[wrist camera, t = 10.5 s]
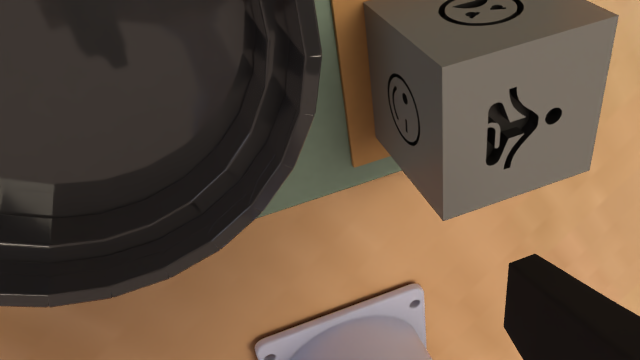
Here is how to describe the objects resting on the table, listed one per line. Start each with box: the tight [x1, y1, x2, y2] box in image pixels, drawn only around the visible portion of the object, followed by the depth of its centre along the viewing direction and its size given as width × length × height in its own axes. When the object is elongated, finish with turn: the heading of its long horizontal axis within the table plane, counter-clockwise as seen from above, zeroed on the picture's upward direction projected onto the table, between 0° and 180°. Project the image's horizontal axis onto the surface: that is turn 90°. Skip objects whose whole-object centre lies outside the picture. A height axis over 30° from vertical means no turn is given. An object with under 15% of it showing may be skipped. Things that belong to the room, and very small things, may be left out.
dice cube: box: [363, 0, 619, 221], centre depth 18 cm, size 5×5×5 cm
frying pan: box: [0, 0, 322, 307], centre depth 15 cm, size 13×13×3 cm
